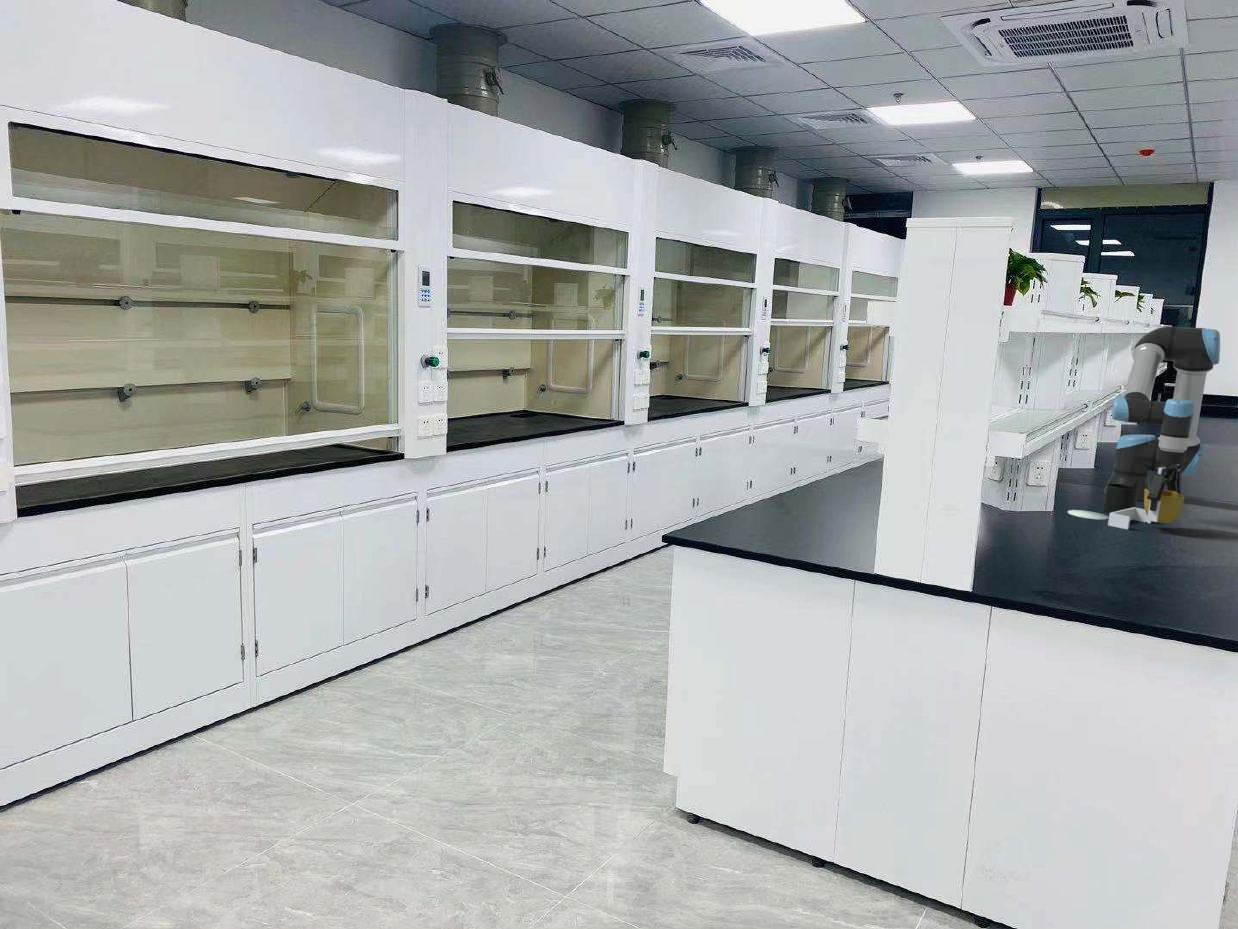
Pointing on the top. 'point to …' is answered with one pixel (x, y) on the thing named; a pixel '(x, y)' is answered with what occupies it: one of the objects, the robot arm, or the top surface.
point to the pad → (1088, 514)
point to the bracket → (1127, 517)
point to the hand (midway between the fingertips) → (1160, 518)
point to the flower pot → (1166, 505)
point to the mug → (1119, 497)
